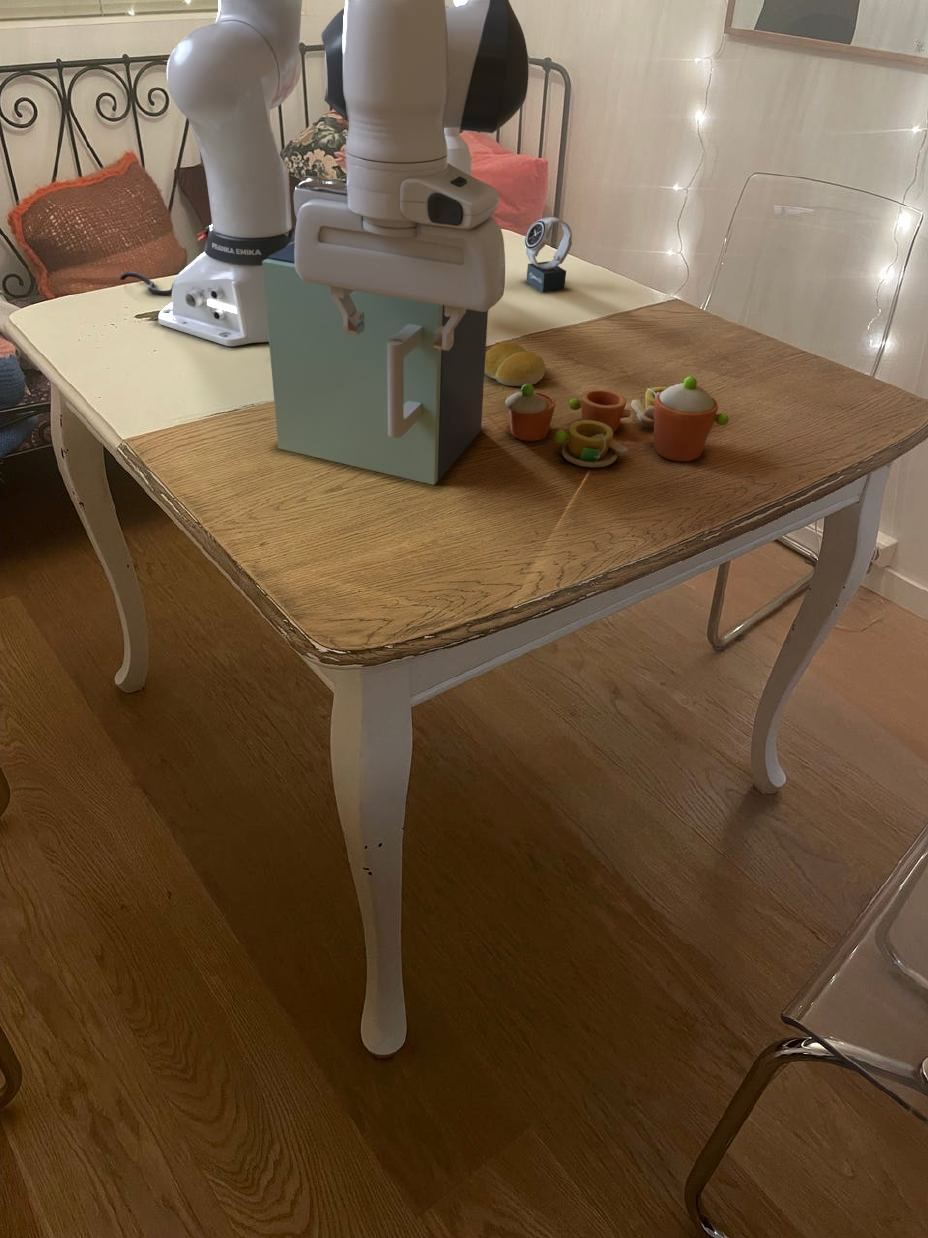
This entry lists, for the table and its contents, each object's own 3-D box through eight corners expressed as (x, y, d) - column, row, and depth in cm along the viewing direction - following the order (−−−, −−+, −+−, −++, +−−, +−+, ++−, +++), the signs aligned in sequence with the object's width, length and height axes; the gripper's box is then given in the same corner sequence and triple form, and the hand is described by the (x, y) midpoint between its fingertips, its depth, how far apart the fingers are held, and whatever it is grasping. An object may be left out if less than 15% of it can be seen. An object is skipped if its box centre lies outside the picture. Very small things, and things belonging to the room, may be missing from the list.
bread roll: (514, 393, 126) (517, 365, 124) (471, 371, 132) (472, 343, 129) (558, 378, 131) (561, 351, 128) (514, 357, 136) (516, 330, 133)
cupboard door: (413, 509, 101) (416, 311, 88) (252, 470, 107) (231, 277, 93) (437, 481, 107) (443, 289, 93) (282, 445, 112) (266, 258, 98)
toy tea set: (679, 406, 125) (693, 336, 119) (733, 462, 113) (752, 387, 108) (491, 421, 119) (496, 348, 114) (528, 481, 108) (535, 403, 102)
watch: (516, 283, 162) (521, 216, 155) (556, 278, 165) (562, 212, 158) (532, 293, 158) (538, 225, 151) (573, 288, 161) (580, 221, 154)
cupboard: (438, 481, 107) (444, 287, 93) (283, 445, 112) (267, 256, 98) (481, 430, 117) (491, 249, 104) (337, 399, 122) (330, 223, 109)
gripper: (275, 180, 83) (287, 333, 92) (492, 210, 78) (484, 369, 86) (309, 166, 88) (317, 312, 96) (516, 193, 83) (506, 345, 91)
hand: (398, 339), depth 91 cm, fingers open, 8 cm apart
